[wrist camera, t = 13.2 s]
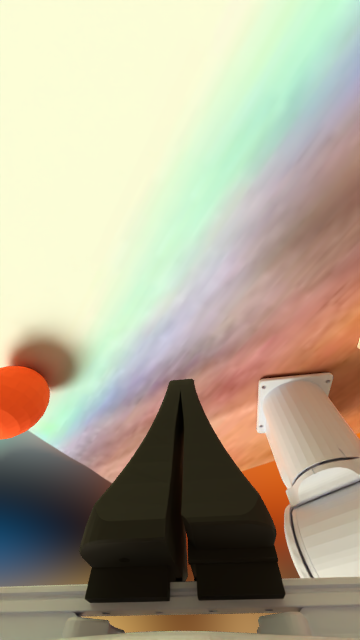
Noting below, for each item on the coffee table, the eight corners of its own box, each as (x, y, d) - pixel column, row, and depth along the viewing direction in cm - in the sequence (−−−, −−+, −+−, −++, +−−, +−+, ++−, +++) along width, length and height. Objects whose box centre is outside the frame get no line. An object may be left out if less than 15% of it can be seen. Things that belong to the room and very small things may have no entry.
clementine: (-24, 356, 24) (-96, 412, 18) (27, 336, 22) (-33, 389, 16) (27, 403, 27) (-18, 463, 21) (73, 388, 26) (39, 447, 20)
